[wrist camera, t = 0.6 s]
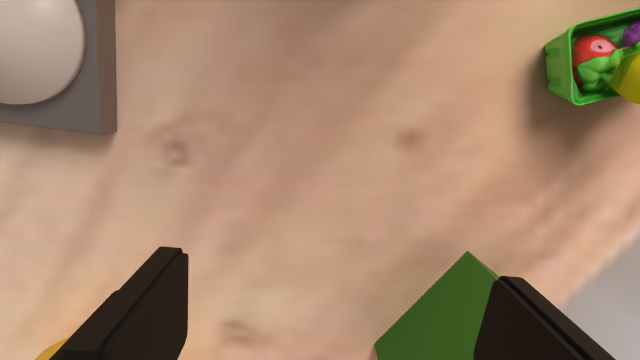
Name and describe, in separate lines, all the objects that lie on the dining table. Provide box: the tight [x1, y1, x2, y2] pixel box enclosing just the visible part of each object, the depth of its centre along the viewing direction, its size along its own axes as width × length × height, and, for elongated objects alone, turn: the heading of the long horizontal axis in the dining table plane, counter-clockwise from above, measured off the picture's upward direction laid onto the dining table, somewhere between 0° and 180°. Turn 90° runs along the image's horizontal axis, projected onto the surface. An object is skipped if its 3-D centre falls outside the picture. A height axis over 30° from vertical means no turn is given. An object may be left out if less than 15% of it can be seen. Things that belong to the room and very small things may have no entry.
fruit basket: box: [545, 7, 640, 106], centre depth 31 cm, size 11×9×11 cm
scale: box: [0, 0, 117, 134], centre depth 32 cm, size 18×17×5 cm
